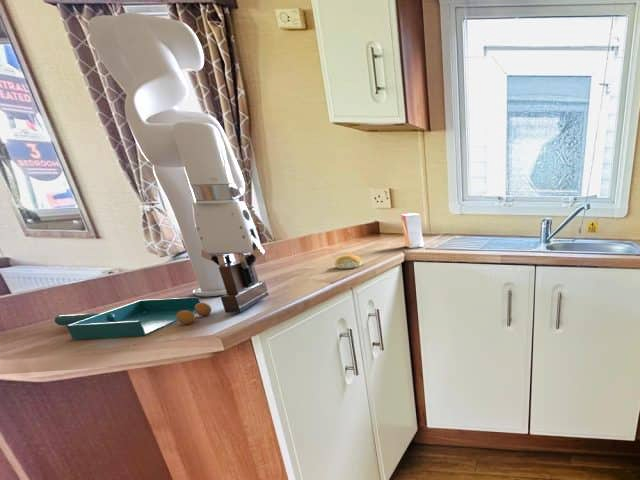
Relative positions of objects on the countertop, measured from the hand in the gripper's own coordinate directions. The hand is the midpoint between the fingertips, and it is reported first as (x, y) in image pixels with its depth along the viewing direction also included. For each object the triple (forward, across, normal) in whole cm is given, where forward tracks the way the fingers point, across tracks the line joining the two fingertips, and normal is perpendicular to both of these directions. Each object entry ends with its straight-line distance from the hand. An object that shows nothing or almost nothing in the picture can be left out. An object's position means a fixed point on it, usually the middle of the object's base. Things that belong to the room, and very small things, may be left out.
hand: (243, 285), depth 92 cm
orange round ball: (+5, +6, +6) cm, 10 cm away
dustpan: (+5, +22, +9) cm, 24 cm away
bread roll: (+6, -10, -49) cm, 51 cm away
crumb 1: (+5, +6, +12) cm, 14 cm away
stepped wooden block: (+4, 0, 0) cm, 4 cm away
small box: (+6, -26, -95) cm, 99 cm away
